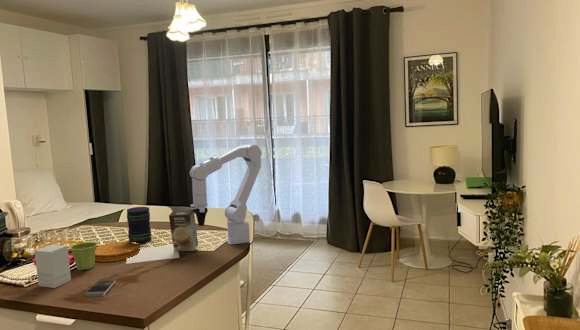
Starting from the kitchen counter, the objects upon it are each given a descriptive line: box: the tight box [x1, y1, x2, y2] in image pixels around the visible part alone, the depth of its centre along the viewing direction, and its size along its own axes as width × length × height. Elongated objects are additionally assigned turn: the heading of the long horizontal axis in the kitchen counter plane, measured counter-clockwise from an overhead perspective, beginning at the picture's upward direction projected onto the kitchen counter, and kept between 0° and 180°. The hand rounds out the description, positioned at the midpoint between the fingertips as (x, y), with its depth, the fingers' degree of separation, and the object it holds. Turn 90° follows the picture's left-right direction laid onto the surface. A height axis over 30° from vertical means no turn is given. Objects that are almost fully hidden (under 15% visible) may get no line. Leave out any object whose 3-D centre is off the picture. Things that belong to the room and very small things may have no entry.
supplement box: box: [34, 244, 72, 289], centre depth 148 cm, size 7×7×13 cm
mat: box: [125, 244, 180, 265], centre depth 177 cm, size 20×18×1 cm
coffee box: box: [168, 209, 199, 252], centre depth 179 cm, size 9×6×16 cm
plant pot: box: [69, 241, 98, 271], centre depth 163 cm, size 9×9×9 cm
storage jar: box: [126, 206, 152, 245], centre depth 195 cm, size 10×10×15 cm
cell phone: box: [85, 280, 116, 298], centre depth 142 cm, size 6×11×1 cm, turn 3°
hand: (201, 225), depth 182 cm, fingers closed
